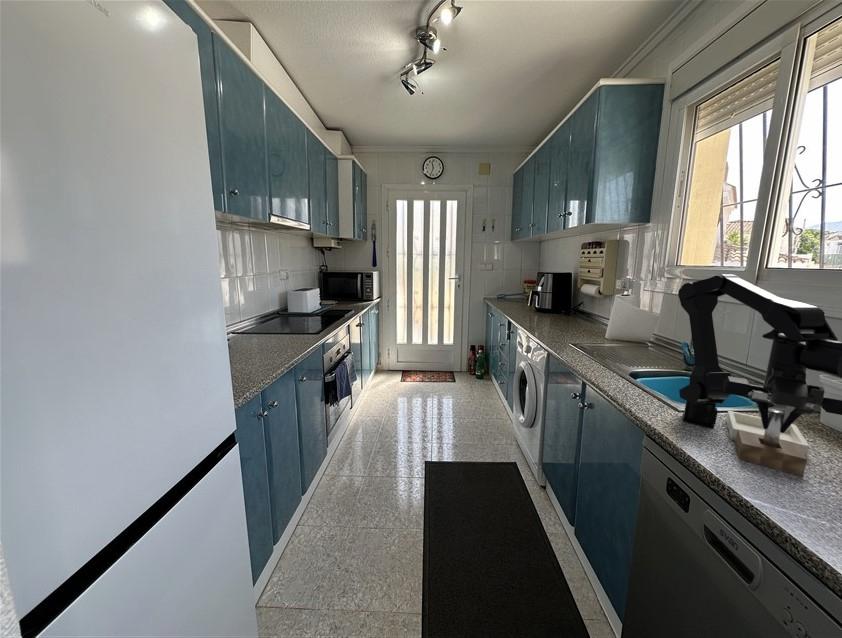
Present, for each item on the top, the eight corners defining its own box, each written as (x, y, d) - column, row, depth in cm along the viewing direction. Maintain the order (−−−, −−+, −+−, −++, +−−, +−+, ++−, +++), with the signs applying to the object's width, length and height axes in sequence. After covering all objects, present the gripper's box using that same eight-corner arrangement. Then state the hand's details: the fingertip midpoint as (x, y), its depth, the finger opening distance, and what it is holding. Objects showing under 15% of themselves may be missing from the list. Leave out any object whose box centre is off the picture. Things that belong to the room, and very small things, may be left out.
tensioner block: (738, 459, 78) (742, 443, 77) (734, 444, 84) (737, 429, 83) (803, 476, 72) (807, 459, 71) (793, 459, 78) (797, 443, 77)
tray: (731, 439, 86) (733, 428, 85) (726, 420, 96) (728, 410, 96) (806, 458, 78) (809, 446, 78) (792, 435, 88) (795, 424, 88)
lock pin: (761, 453, 77) (770, 411, 75) (759, 448, 79) (768, 408, 77) (776, 457, 76) (786, 415, 74) (774, 452, 77) (783, 411, 76)
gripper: (733, 363, 73) (720, 431, 76) (872, 384, 62) (851, 462, 64) (728, 352, 81) (717, 413, 84) (848, 368, 70) (831, 438, 73)
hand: (772, 430), depth 76 cm, fingers closed on lock pin, 2 cm apart
